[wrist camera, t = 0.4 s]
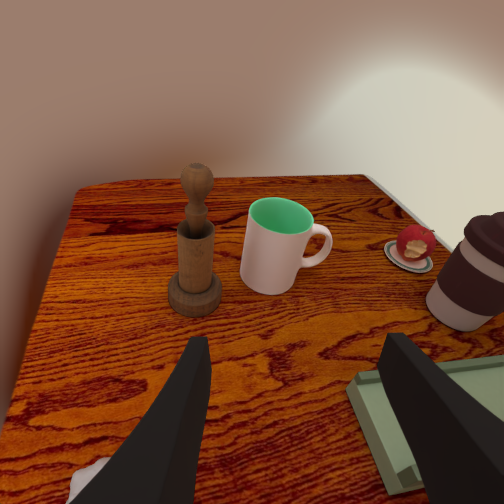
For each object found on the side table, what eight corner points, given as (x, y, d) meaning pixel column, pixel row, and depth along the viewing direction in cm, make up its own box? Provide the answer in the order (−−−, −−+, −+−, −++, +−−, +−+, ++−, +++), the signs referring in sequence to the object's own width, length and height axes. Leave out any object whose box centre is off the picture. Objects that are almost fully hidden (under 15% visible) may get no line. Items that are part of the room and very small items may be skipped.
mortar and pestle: (166, 318, 35) (154, 180, 23) (170, 278, 40) (162, 148, 28) (222, 317, 36) (237, 185, 24) (219, 278, 41) (231, 154, 29)
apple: (440, 274, 48) (464, 244, 44) (397, 274, 47) (418, 243, 43) (414, 243, 54) (432, 214, 50) (375, 242, 53) (391, 212, 49)
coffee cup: (433, 337, 38) (515, 251, 28) (404, 282, 46) (462, 198, 36) (503, 345, 39) (608, 263, 29) (464, 289, 46) (537, 209, 37)
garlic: (49, 544, 20) (20, 534, 17) (98, 454, 24) (83, 431, 21) (131, 574, 19) (119, 570, 16) (167, 477, 24) (163, 457, 20)
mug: (309, 254, 48) (328, 199, 41) (327, 292, 42) (353, 234, 35) (236, 255, 45) (244, 196, 38) (244, 295, 39) (255, 234, 32)
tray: (388, 495, 25) (418, 481, 21) (344, 388, 31) (362, 365, 28) (619, 442, 31) (669, 425, 28) (542, 362, 38) (575, 341, 34)
